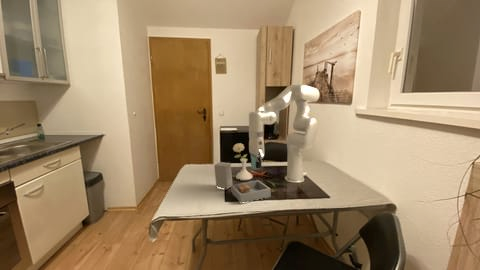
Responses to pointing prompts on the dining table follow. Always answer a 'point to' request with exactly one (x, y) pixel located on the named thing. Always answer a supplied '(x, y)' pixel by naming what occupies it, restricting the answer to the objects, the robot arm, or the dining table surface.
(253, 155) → the mint rounded capsule part
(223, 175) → the skincare box
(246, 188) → the walnut cube
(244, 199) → the tote
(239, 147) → the flower in vase
